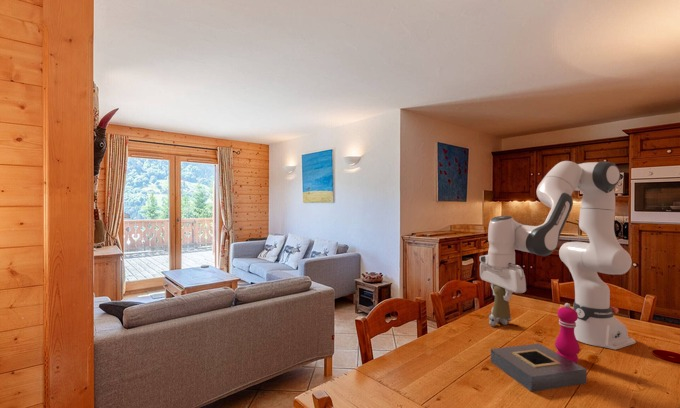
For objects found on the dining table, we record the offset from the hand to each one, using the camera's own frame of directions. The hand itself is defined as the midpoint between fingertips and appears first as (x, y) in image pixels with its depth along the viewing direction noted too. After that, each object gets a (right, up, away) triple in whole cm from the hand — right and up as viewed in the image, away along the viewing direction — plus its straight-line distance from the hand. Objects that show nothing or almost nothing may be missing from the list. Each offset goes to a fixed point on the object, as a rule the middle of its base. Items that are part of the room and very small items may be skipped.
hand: (501, 298), depth 117 cm
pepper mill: (+22, -21, -3) cm, 31 cm away
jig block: (+6, -21, -11) cm, 24 cm away
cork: (0, -7, 0) cm, 7 cm away
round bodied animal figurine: (+13, -21, +29) cm, 38 cm away
